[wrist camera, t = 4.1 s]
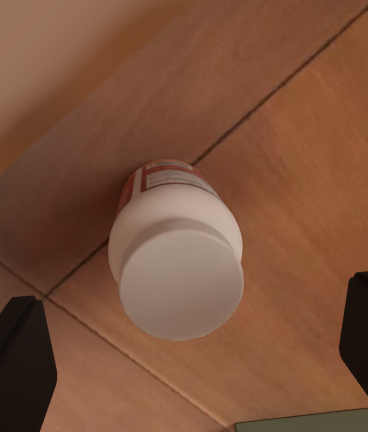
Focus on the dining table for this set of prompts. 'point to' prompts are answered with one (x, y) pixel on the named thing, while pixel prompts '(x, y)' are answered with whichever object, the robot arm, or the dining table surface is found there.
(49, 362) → the robot arm
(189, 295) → the pill bottle
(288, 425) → the scale
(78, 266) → the dining table surface
